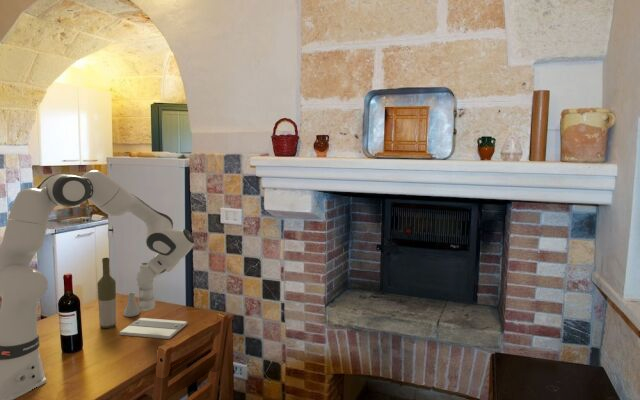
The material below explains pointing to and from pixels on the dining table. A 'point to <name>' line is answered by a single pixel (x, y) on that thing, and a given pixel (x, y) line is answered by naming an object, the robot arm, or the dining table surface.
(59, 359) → the dining table surface
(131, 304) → the flask
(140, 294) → the plastic bottle
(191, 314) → the dining table surface
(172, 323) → the white book
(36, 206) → the robot arm
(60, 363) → the dining table surface
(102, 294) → the bottle
